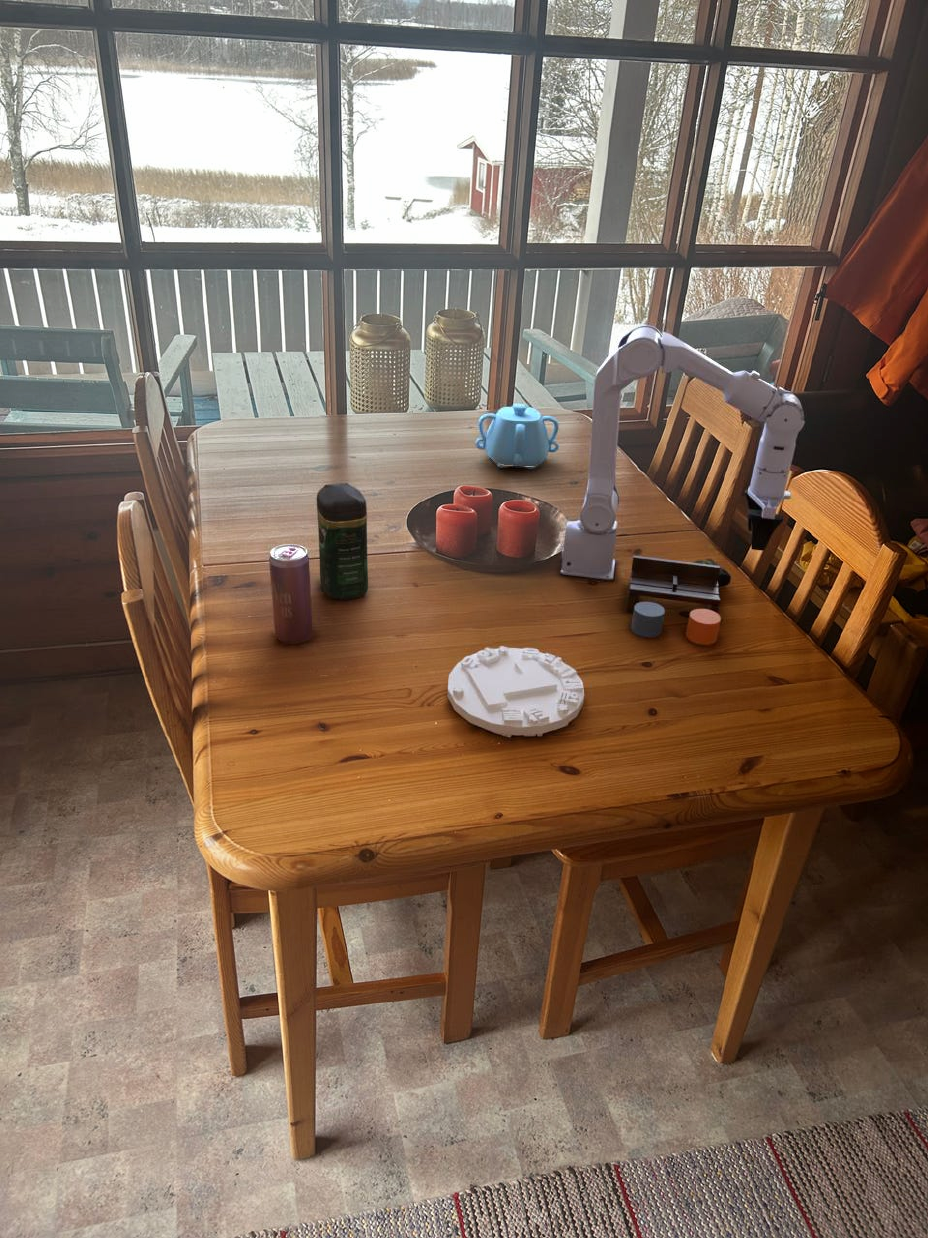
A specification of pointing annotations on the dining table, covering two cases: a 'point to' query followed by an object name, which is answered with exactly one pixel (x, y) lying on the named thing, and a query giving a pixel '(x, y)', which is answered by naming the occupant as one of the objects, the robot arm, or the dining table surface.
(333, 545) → the coffee jar
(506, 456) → the decorative pot
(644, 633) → the grey squat cylinder
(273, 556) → the beverage can
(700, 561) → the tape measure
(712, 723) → the dining table surface
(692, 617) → the orange squat cylinder
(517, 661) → the white flat round disc
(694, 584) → the rack
